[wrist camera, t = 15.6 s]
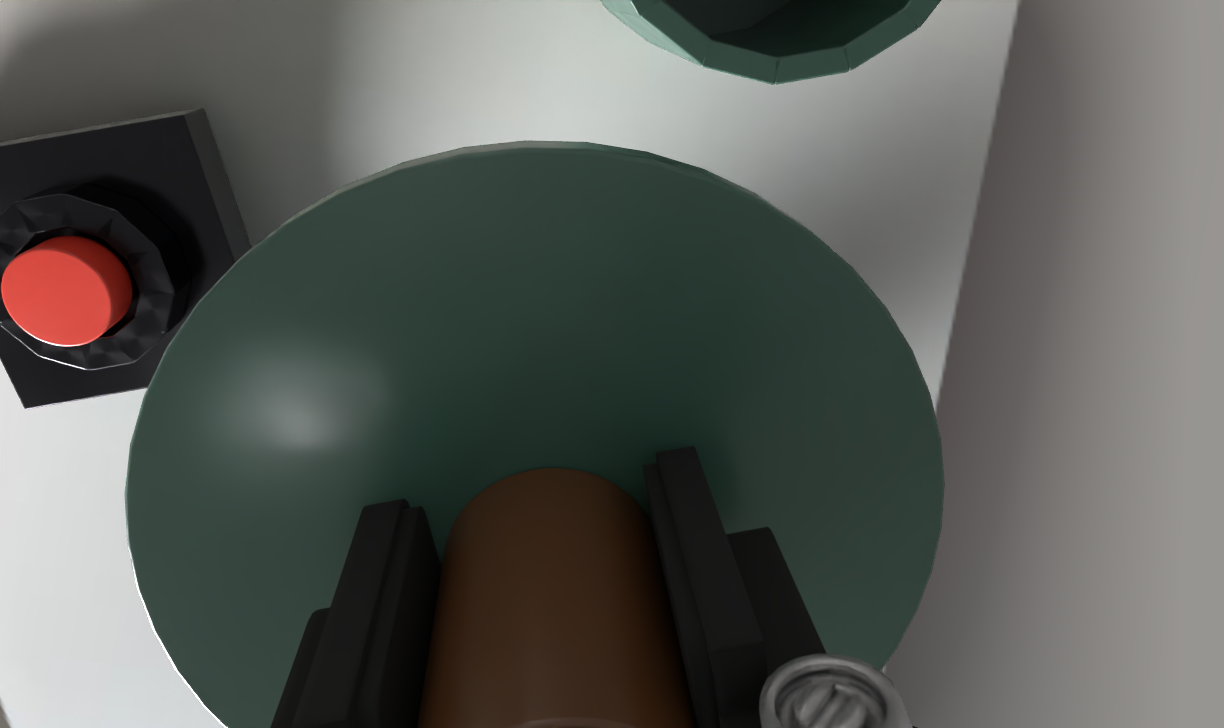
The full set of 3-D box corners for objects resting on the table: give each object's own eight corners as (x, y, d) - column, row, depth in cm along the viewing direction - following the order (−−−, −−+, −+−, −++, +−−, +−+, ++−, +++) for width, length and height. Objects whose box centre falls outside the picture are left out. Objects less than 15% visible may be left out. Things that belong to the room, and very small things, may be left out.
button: (9, 244, 31) (-19, 258, 29) (110, 227, 31) (88, 239, 29) (51, 337, 32) (26, 355, 31) (148, 320, 32) (128, 337, 31)
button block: (-59, 152, 33) (-132, 172, 29) (204, 106, 33) (163, 121, 29) (51, 387, 37) (-1, 431, 33) (285, 346, 37) (258, 385, 33)
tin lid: (22, 216, 11) (-442, 421, 6) (904, 62, 11) (1234, 122, 6) (296, 833, 16) (176, 1260, 10) (917, 716, 16) (1110, 1075, 10)
